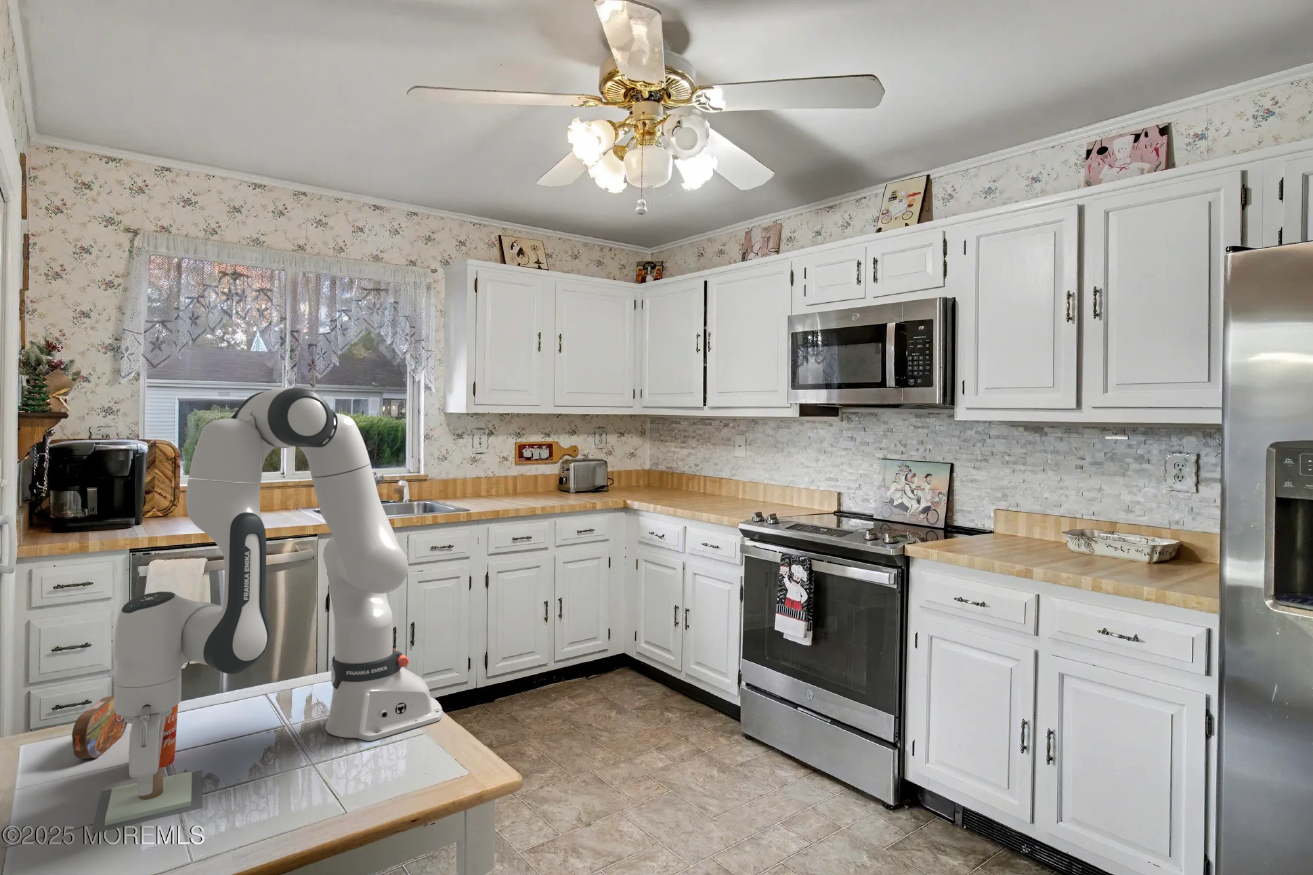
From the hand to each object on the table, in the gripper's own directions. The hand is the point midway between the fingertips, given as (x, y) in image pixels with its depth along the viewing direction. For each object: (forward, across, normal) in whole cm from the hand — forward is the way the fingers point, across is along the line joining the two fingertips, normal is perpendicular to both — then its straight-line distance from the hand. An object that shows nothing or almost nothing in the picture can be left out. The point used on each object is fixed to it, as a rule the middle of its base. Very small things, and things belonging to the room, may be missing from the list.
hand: (147, 779), depth 117 cm
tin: (+4, +27, +9) cm, 28 cm away
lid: (+3, 0, 0) cm, 3 cm away
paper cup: (+4, +14, 0) cm, 14 cm away
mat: (+4, 0, 0) cm, 4 cm away
